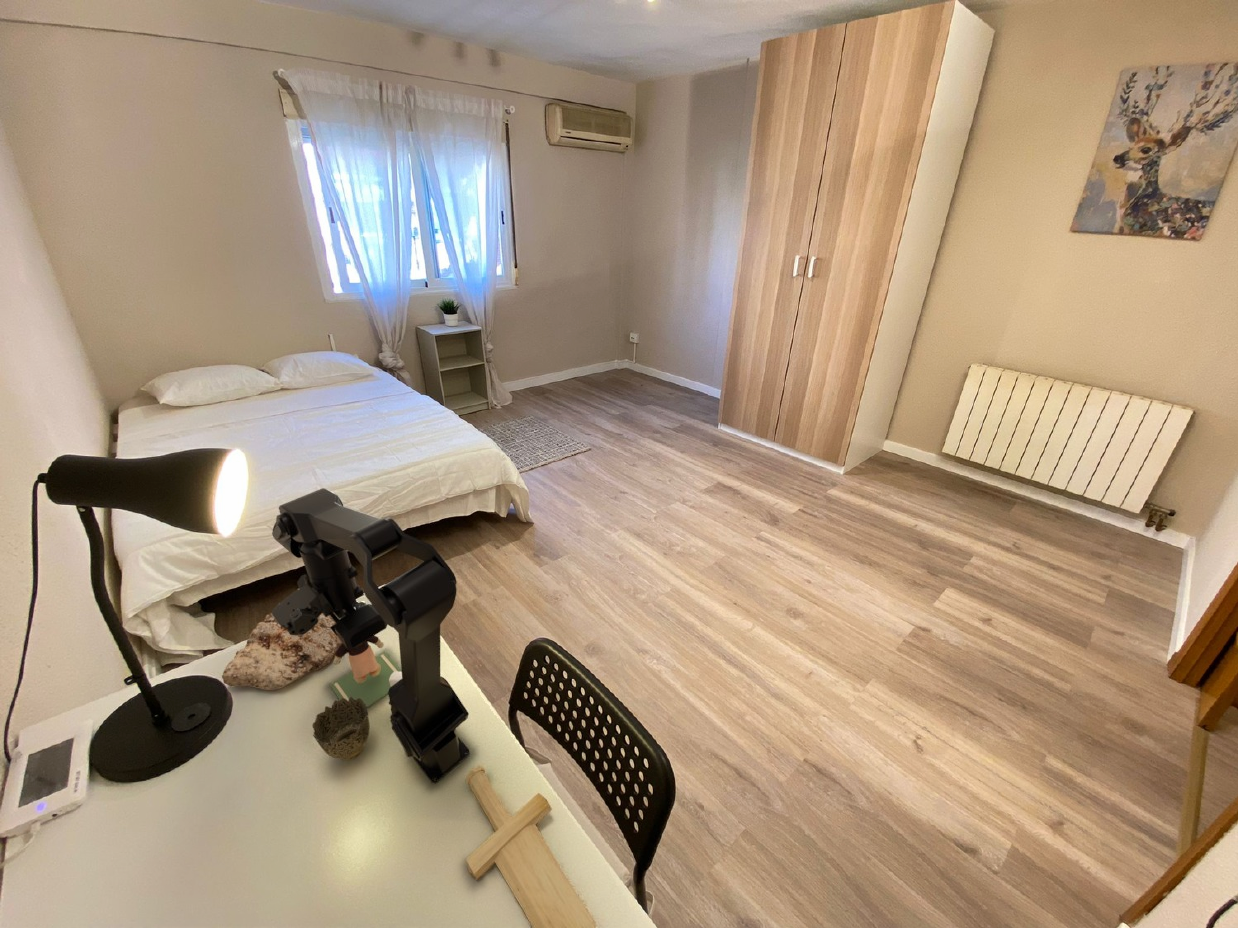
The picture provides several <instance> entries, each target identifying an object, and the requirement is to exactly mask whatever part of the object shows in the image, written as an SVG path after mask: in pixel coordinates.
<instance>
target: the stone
mask: <svg viewBox="0 0 1238 928" xmlns="http://www.w3.org/2000/svg"><path fill="white" fill-rule="evenodd" d="M297 590H299V588H297ZM280 603H281V602H279V603H278V604H280ZM335 624H336V623H335V621H334V620H333V619H332V617H331V616H330V615H329V616H327V617H325V616H324V615H323V614H322V613H321V615H320V616H319V617H318V623H317V624H316V625H315V626H314V627H313V628H312V629H310V630H309V631H308V632H307V633H306V634H303V635H300V634H299V635H290V633H289V632H288V631H287V630H286V629H285V628H283V627H282V626H281V625H279V623H278V622H277V620H276V619H275V618H274V616H273V615H272V612H271V613H268V614H266V616H265V618H264V620H263V621H260V622H258V623H257V625H256V627H255V628H254V629H253V630H252V631H251V633H250V634H249V635H248V639H246V645H245V647H244V648H241V649H239V650H237V651H236V652H235V656H234V657H233V659H232V660H231V661H230V662H228V664H227V665H226V666H225V668H224V670H223V672H222V675H221V678H222V681H223V684H225V685H227V686H229V687H243V686H244V687H252V688H253V687H254V688H257V689H261V690H265V691H266V690H268V691H269V690H270V691H271V690H272V691H273V690H275V691H276V690H278V689H283V688H284V687H285V686H287V685H289V684H290V683H293V682H294V681H296V680H299V679H300V678H303V677H304V676H306V674H309V673H310V672H312V671H315V670H320V669H322V668H323V667H325V666H328V665H329V664H330V663H331V661H332V659H333V658H334V657H335V653H336V651H337V649H338V648H339V646H340V645H341V644H342V642H341V640H340V639H339V637H338V636H337V635H336V634H335V633H334V632H333V631H332V629H331V628H330V627H331V626H333V625H335Z"/></svg>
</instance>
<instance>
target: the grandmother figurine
mask: <svg viewBox="0 0 1238 928" xmlns="http://www.w3.org/2000/svg"><path fill="white" fill-rule="evenodd" d="M369 643H370V644H373V645H375V646H377V648H378V649H382V648H383V647H384V646H385V643H384V642H383V641H381V639H379V637H378V636H377V635H374V636H372V637H371V638H369V639H367V640H365V641H364V642H362V644H361V645H359V646H358V647H353V648H346V646H345V645H344V644H343V643H342V644H341V645H340V646H339V648H338V649H337V651H336V653H335V656H334V659H333V661H332V663H333V664H334V665H339V664H340V663H341V659H342V658H343V657H344V656H346V655H347V654H348V655H347V656H348V661H349V666H350V669H351V672H352V671H353V674H354V677H353V678H354V680H355V681H356V682H357V683H363V682H365V681H366V680H367V676H366V674H368V673H370V676H371V677H375V676H378V675H379V673H380V670H381V665H380V664H378V663H377V661H376V658H375V657H376V656H375V653H374V651H373V649H372V646H371V645H370V644H369Z"/></svg>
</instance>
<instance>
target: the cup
mask: <svg viewBox="0 0 1238 928" xmlns="http://www.w3.org/2000/svg"><path fill="white" fill-rule="evenodd" d="M348 701H349V702H348ZM348 701H347V700H346V699H345V698H342V699H339V700H334V702H333V703H332V705H331V706H328V705H327V706H325V708H324V711H322V712H318V713H317V714H316V716H315V720H314V722H312V728H313V734H312V737H313V738H314V739H315V741H316V742H317V743H318V745H319V746H320V748H321V749H322V750H323V751H324V753H325V754H326V755H328V756H329V757H331V758H334V759H342V760H345V761H349V760H352V759H355V758H356V757H358V756H359V755H360V754H361V753H362V751H363V750H364V746H365V744H366V743H367V741H368V739H369V735H370V720H369V711H368V708H367V706H366V704H364V702H363V701H362V699H360V698H358V699H357V700H354V698H353V697H350V698H349V700H348Z"/></svg>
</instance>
